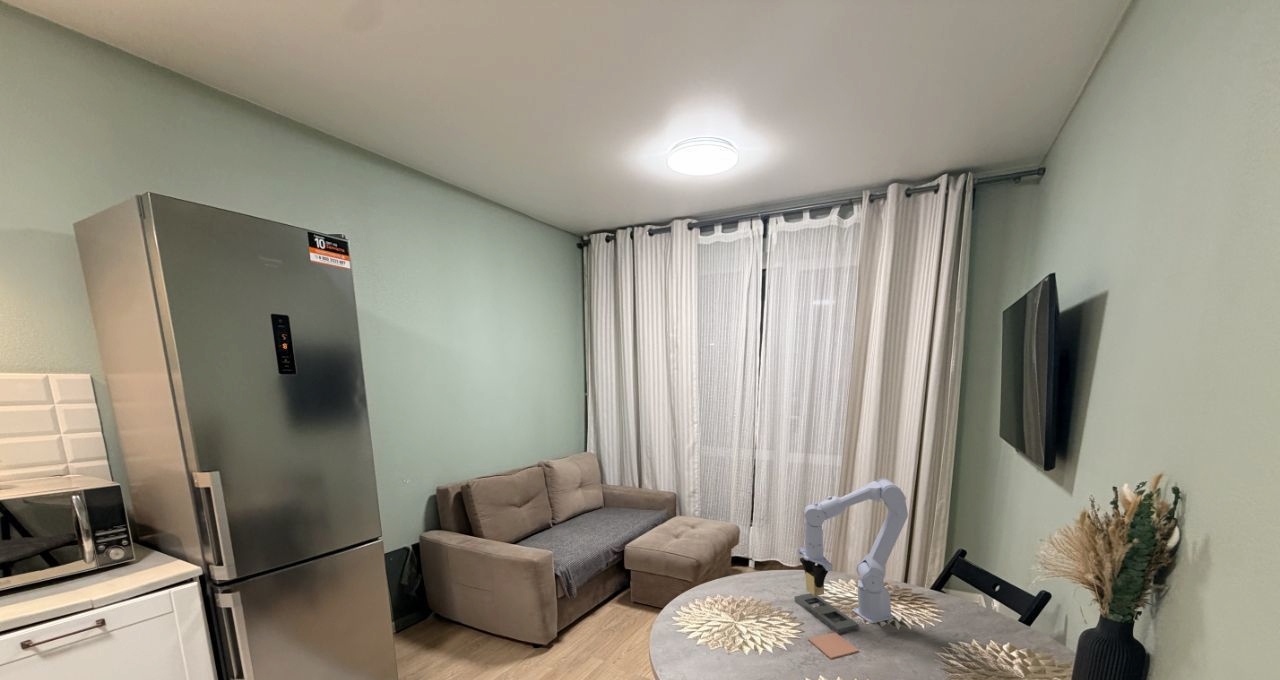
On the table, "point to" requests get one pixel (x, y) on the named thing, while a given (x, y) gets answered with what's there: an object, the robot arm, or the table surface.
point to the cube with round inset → (813, 584)
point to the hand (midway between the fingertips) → (814, 583)
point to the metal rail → (827, 613)
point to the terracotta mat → (833, 645)
